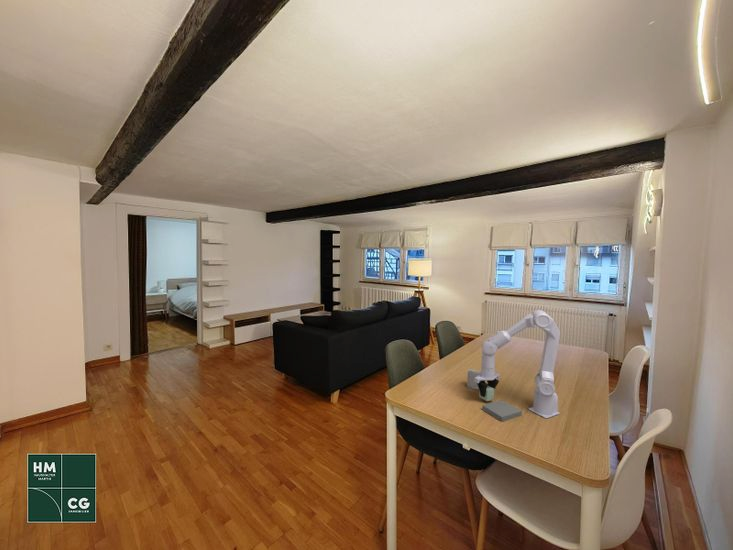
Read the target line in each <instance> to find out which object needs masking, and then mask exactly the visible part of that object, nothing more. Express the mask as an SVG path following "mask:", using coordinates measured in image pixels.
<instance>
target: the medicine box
mask: <svg viewBox="0 0 733 550" xmlns="http://www.w3.org/2000/svg"><path fill="white" fill-rule="evenodd" d="M480 373H481V370H479V369H478V370H477V369H472V368H470V369H468V370H467V378H466V379H467V382H466V383H467V384H466V388H468V389H471V390H472V389H473V390H478V391H479V387H478V385H477V383H476V382H474V378H475V377H477V376H479V375H480Z"/></svg>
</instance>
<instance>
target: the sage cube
mask: <svg viewBox="0 0 733 550" xmlns="http://www.w3.org/2000/svg"><path fill="white" fill-rule="evenodd" d="M478 392H479V393H478V394H479V395H478V397H479V398H480V399H483V400H484V401H486V402H490V401H493V400H494V399H495V390H494V388H492V387H490V386H487V389H486V395H485V397H482V396H481V395H480V391H479V390H478Z"/></svg>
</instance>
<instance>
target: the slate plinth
mask: <svg viewBox="0 0 733 550" xmlns="http://www.w3.org/2000/svg"><path fill="white" fill-rule="evenodd" d="M481 409H482V411H484V412H486V414H488V415H490V416H492V417H493V418H495V419H496V420H498V421H500V422H505V421H509V420H512V419H515V418H518V417H522V415H523V413H522V412H523V410H521V409H519V408H517V407H515V406H514V405H512V404H510V403H508V402H507V401H504V400H497V401H494V402H493V401H492V402H491V403H486V404H483V405H482V407H481Z"/></svg>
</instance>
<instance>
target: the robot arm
mask: <svg viewBox="0 0 733 550" xmlns="http://www.w3.org/2000/svg"><path fill="white" fill-rule="evenodd" d="M536 326H537V327H538V328H539V329H540V330H542V331H543V332H544V333H545V339H544V344H543V349H542V350H543V351H542V354H541V355H542V357H541V360H540V361H541V362H540V368H539V369H538V372H537V374H536V375H535V377H534V383H535V384H536V386H535V387H534V390H533V403H532V406H531V407H528V410H529V411H531V412H533V413H535V414H536V415H538V416H540V417H542V418H544V419H549V418H551V417H554V416H557V415H560V414H561V413H560V412H559V411H558V408H559V407H558V406H559V397H558V394H557V393H556V387H555V384H554V383H555V376H554V372H555V371H554V370H555V366H556V365H555V364H556V360H557V355H558V348H559V345H560V343H559V342H560V337H561V331H560V329H559V327H558V325H557V324H556V322H555V320H554V319H553V318H552V317H551V316H550V315H549V314H548V313H547V312H545V311H544V310H543V309H535V310H534V311H533V312H531V313H528V314H527V315H525V316H524V317H523V318H521V319H520V320H519V321H518V322H516V323H515V324H514V325H512V326H510V328H508V329H507V330H500V331H499V330H497V331H496V334H494V335H493V336H491V337H488V338H487V339H486V340H484V341H483V342H482V345H481V349H482V351H481V364H480V365H481V367H480V368H481V369H480V371H481V373H480V375H479V376H477V377H475V378H474V382H476V383H477V385H478V387H479V390H478V392H479V391H480V395H481V396H482V397H485V395H486V389H487V386H490V387H492V388H494V391H495V389H496V387H497V386H498V384H499V383H500V381H499V379H501V373H499V372H495V367H496V364H495V363H496V355H495V354H496V352H497V350H499V349H501V348H502V347H504V346H505V345H507V344H509V343H510V342H511V340H512V337H513V336H515V335H517V334H519V333H520V332H522V331H524V330H525V329H527V328H531V329H534V328H535V329H536Z"/></svg>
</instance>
